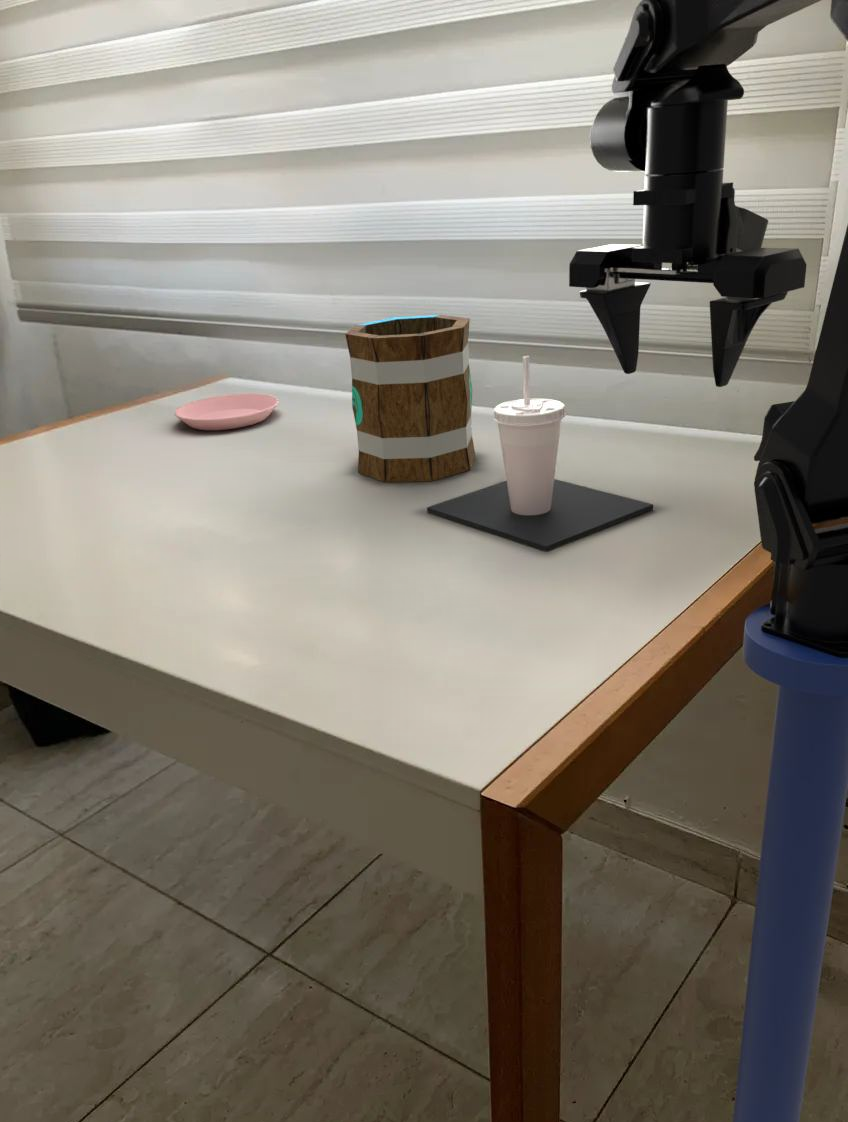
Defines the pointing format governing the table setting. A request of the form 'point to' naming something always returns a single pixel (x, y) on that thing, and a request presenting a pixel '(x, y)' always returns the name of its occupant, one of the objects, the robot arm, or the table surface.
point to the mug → (412, 397)
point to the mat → (563, 523)
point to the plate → (227, 411)
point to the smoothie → (529, 448)
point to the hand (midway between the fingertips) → (674, 379)
